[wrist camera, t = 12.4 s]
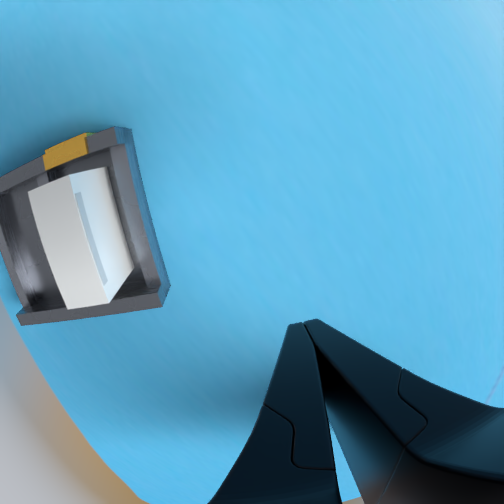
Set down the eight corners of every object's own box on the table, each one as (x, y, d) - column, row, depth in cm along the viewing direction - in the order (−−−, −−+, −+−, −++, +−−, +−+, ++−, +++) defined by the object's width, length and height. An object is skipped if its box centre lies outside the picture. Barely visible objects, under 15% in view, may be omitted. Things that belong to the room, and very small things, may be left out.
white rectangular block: (107, 166, 17) (69, 174, 12) (135, 267, 19) (109, 303, 14) (69, 179, 17) (27, 192, 12) (97, 274, 19) (67, 309, 14)
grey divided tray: (130, 124, 16) (112, 121, 14) (170, 285, 20) (161, 308, 17) (-4, 182, 16) (-28, 189, 13) (38, 307, 20) (20, 326, 17)
